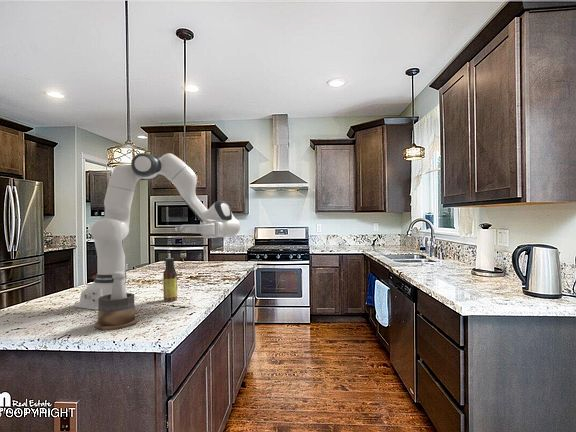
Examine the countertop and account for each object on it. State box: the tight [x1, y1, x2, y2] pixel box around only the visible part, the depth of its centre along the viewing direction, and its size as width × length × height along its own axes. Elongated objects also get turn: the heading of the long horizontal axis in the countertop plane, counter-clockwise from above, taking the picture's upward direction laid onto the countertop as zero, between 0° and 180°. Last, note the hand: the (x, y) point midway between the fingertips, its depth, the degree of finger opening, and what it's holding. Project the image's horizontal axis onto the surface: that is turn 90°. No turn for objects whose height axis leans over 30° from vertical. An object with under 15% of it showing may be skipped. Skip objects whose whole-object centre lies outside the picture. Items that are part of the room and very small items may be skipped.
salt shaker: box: [110, 271, 127, 300], centre depth 121 cm, size 6×6×13 cm
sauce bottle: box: [162, 257, 178, 302], centre depth 156 cm, size 7×6×20 cm
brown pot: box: [94, 292, 139, 331], centre depth 121 cm, size 14×14×10 cm
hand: (180, 229), depth 144 cm, fingers open, 8 cm apart
